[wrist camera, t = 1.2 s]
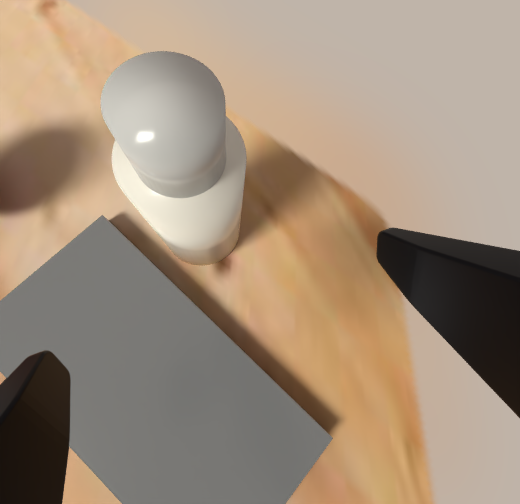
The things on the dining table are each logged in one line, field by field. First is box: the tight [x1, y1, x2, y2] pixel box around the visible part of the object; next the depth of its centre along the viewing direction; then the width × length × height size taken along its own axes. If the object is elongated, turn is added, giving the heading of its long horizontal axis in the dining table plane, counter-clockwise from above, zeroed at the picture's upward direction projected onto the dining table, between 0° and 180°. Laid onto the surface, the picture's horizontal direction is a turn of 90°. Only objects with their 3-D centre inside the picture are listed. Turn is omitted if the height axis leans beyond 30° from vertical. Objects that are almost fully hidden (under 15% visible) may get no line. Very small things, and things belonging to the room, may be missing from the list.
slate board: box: [0, 215, 333, 504], centre depth 18 cm, size 20×10×1 cm, turn 47°
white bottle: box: [101, 51, 246, 265], centre depth 15 cm, size 5×5×12 cm
